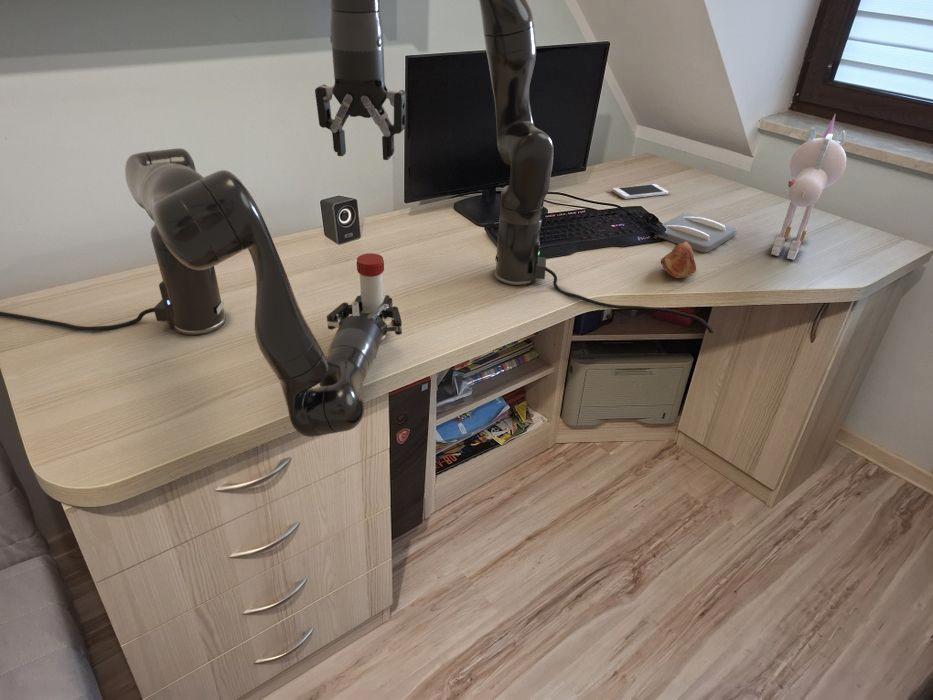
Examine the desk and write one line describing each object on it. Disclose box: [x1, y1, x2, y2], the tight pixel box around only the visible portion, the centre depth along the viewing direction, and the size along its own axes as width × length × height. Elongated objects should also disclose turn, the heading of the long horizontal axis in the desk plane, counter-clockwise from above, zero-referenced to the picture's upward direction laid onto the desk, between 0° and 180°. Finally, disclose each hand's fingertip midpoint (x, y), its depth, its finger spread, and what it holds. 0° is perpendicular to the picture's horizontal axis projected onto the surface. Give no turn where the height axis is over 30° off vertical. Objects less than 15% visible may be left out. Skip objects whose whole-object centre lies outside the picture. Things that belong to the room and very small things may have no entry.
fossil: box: [660, 241, 697, 279], centre depth 147 cm, size 13×8×10 cm
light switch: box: [654, 212, 737, 253], centre depth 167 cm, size 18×3×15 cm
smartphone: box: [611, 183, 669, 200], centre depth 193 cm, size 7×15×1 cm, turn 111°
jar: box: [359, 273, 386, 341], centre depth 118 cm, size 4×4×16 cm
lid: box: [356, 252, 385, 276], centre depth 114 cm, size 5×5×2 cm
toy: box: [770, 112, 847, 261], centre depth 159 cm, size 12×36×30 cm, turn 148°
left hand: (375, 298), depth 121 cm, fingers closed on jar, 4 cm apart
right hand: (364, 156), depth 103 cm, fingers open, 7 cm apart
